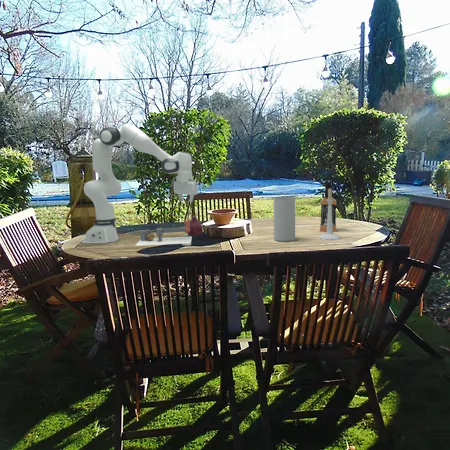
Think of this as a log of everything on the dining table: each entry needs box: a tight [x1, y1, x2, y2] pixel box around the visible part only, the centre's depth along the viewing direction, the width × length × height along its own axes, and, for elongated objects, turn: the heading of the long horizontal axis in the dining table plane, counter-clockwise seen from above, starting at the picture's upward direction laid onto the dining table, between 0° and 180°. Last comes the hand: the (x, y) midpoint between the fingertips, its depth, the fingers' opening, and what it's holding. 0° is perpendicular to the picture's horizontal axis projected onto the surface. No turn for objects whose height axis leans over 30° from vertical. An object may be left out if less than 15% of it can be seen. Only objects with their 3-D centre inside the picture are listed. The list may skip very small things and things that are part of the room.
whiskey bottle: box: [319, 181, 337, 232], centre depth 258 cm, size 10×10×32 cm
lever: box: [155, 219, 191, 237], centre depth 239 cm, size 20×7×8 cm, turn 97°
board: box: [135, 229, 193, 247], centre depth 238 cm, size 32×21×7 cm, turn 93°
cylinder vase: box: [273, 196, 296, 243], centre depth 234 cm, size 12×12×25 cm
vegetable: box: [186, 214, 204, 236], centre depth 262 cm, size 10×10×15 cm
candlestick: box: [318, 188, 342, 241], centre depth 234 cm, size 13×13×30 cm
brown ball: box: [147, 232, 155, 241], centre depth 240 cm, size 4×4×4 cm
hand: (186, 201), depth 240 cm, fingers open, 8 cm apart
